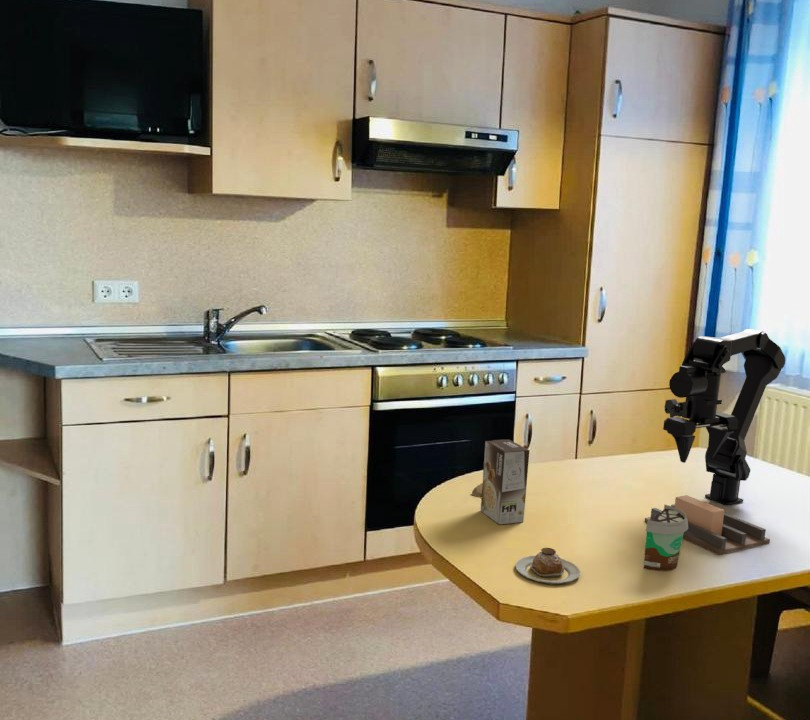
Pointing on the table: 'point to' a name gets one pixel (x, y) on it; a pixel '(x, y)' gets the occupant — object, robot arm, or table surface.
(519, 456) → the coffee box
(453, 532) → the table surface
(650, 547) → the food container
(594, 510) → the table surface
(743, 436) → the robot arm
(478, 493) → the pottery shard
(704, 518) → the terracotta strip
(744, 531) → the ribbed brown panel
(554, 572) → the pastry
